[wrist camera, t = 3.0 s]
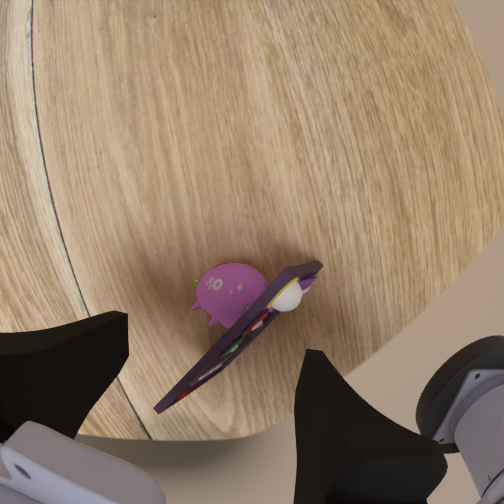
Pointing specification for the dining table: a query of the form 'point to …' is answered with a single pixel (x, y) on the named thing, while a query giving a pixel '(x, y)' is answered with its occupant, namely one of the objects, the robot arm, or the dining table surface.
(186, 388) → the game card
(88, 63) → the dining table surface
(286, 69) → the dining table surface
